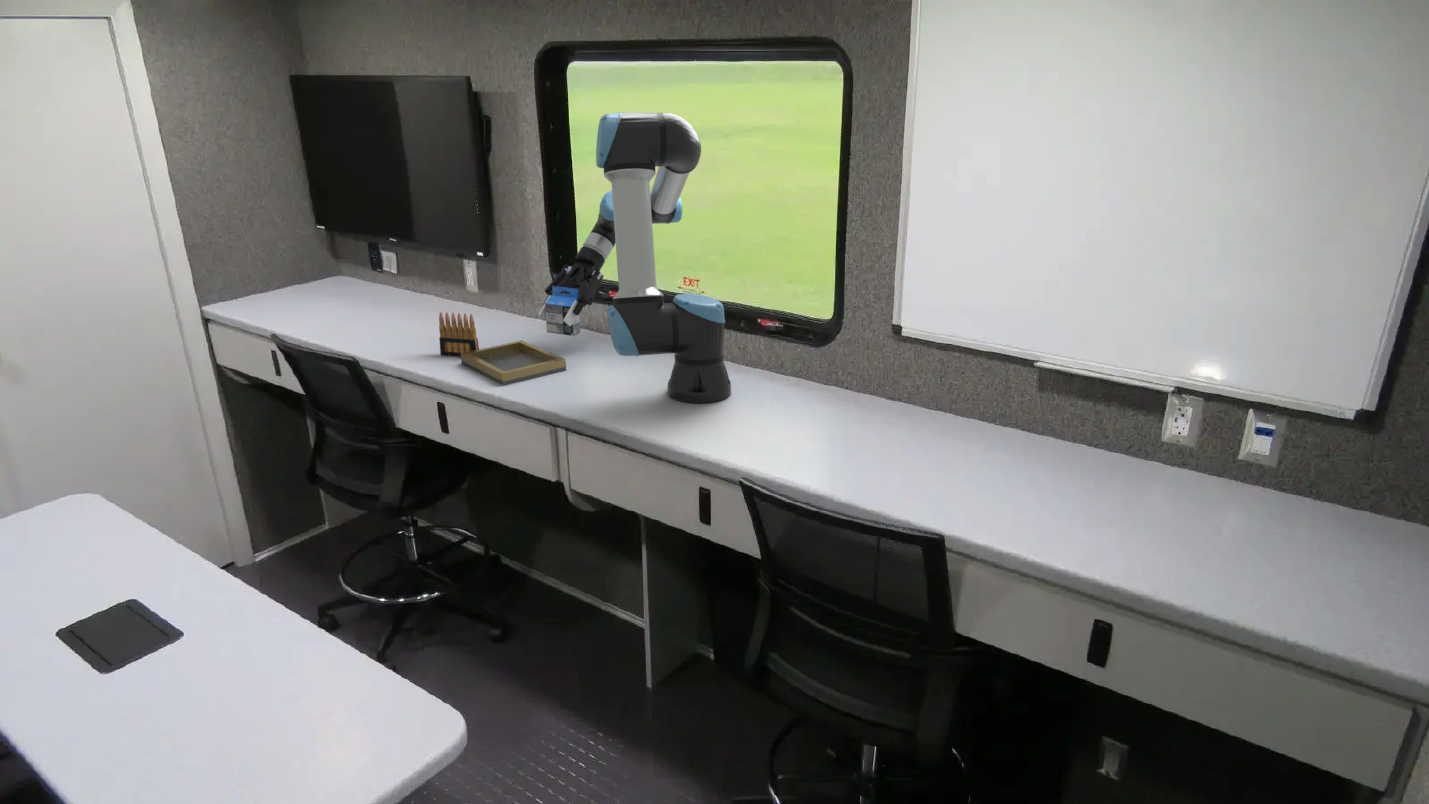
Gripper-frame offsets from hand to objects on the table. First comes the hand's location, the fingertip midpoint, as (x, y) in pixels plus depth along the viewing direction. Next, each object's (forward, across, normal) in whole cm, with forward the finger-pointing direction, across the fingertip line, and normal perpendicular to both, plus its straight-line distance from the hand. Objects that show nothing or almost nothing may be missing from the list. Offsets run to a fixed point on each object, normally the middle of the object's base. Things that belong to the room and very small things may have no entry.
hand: (554, 320), depth 229 cm
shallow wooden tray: (+17, -1, +4) cm, 18 cm away
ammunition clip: (+19, +18, +6) cm, 27 cm away
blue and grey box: (+1, 0, -5) cm, 5 cm away
